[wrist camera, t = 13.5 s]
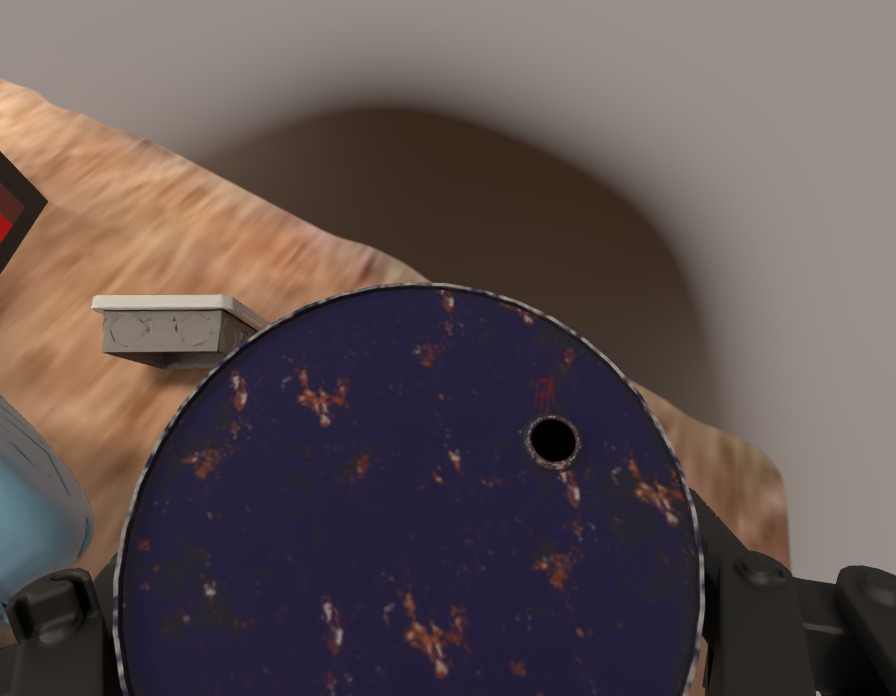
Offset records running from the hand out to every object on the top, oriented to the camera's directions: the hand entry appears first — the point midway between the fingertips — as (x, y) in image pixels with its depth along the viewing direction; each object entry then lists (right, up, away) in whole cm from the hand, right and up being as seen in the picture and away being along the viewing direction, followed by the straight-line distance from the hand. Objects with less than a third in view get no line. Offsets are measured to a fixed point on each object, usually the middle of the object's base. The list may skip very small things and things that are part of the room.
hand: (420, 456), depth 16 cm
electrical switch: (-18, +3, +26) cm, 31 cm away
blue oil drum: (0, -6, +6) cm, 9 cm away
